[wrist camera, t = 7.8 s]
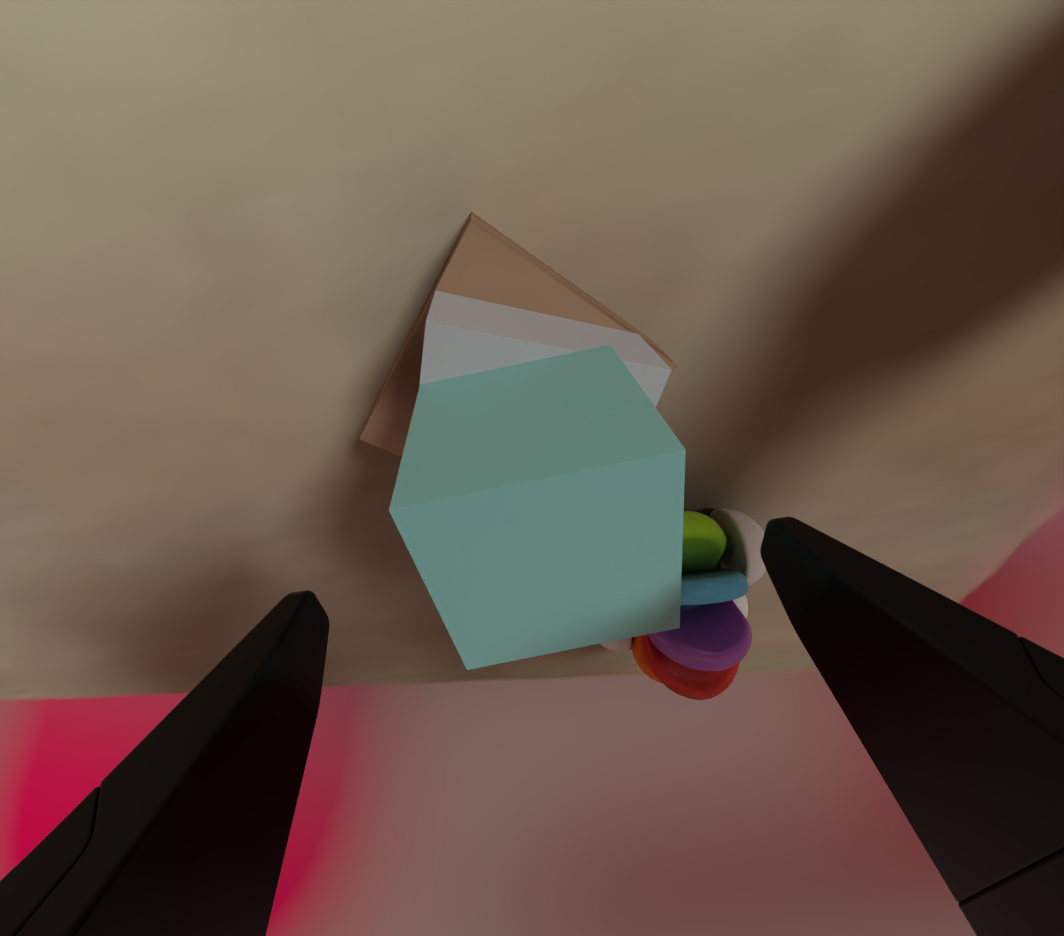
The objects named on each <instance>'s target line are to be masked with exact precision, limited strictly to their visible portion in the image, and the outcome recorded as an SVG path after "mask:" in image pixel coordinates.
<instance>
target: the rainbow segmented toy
mask: <svg viewBox="0 0 1064 936" xmlns="http://www.w3.org/2000/svg"><path fill="white" fill-rule="evenodd" d="M763 537H764V532H763V530H762V529H761V527H760V526H759V525H758V524H757V523H756V522H755V521H754V520H753V519H752V518H750V517H749V516H747V515H746V514H744V513H742V512H740V511H737V510H733V509H728V508H717V509H715V510H713V511H712V512H711V513H710V515H709V517H708V516H706V515H704V514H701V513H698V512H694V511H684V513H683V543H682V573H681V603H680V628H677V629H672V630H667V631H662V632H657V633H652V634H647V635H642V636H637V637H632V638H627V639H621V640H616V641H611V642H606V643H601V644H600V645H601V646H603V647H604V648H606V649H608V650H611V651H614V652H618V653H627V652H628V651H629V650H630V649H632V650H633V655H634V658H635V660H636V662H637V664H638V665H639V667H640V668H641V669H642V671H643V672H644V673H645V674H647V675H648V676H649V677H650V678H652V679H653V680H655V681H658V682H660V683H663V684H664V685H665V686H666V687H668V688H669V689H670V690H672V691H673V692H675V693H677V694H679V695H681V696H684V697H687V698H691V699H695V700H705V699H709V698H712V697H714V696H717V695H719V694H720V693H722V692H723V691H724V690H725V689H727V687H728V686H729V685H730V684H731V683H732V681H733V679H734V677H735V675H736V673H737V670H738V666H739V663H740V661H741V660H742V659H743V658H744V656H745V655H746V654H747V652H748V650H749V648H750V644H751V638H752V634H751V628H750V625H749V623H748V621H747V620H746V619H747V615H748V604H747V599H746V596H745V594H746V593H747V591H748V587H750V586H752V585H753V584H755V583H756V582H757V581H758V580H759V579H760V578H761V577H762V575H763V574H764V572H765V571H766V567H765V565H764V563H763V561H762V558H761V553H760V548H761V544H762V540H763Z"/></svg>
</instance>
